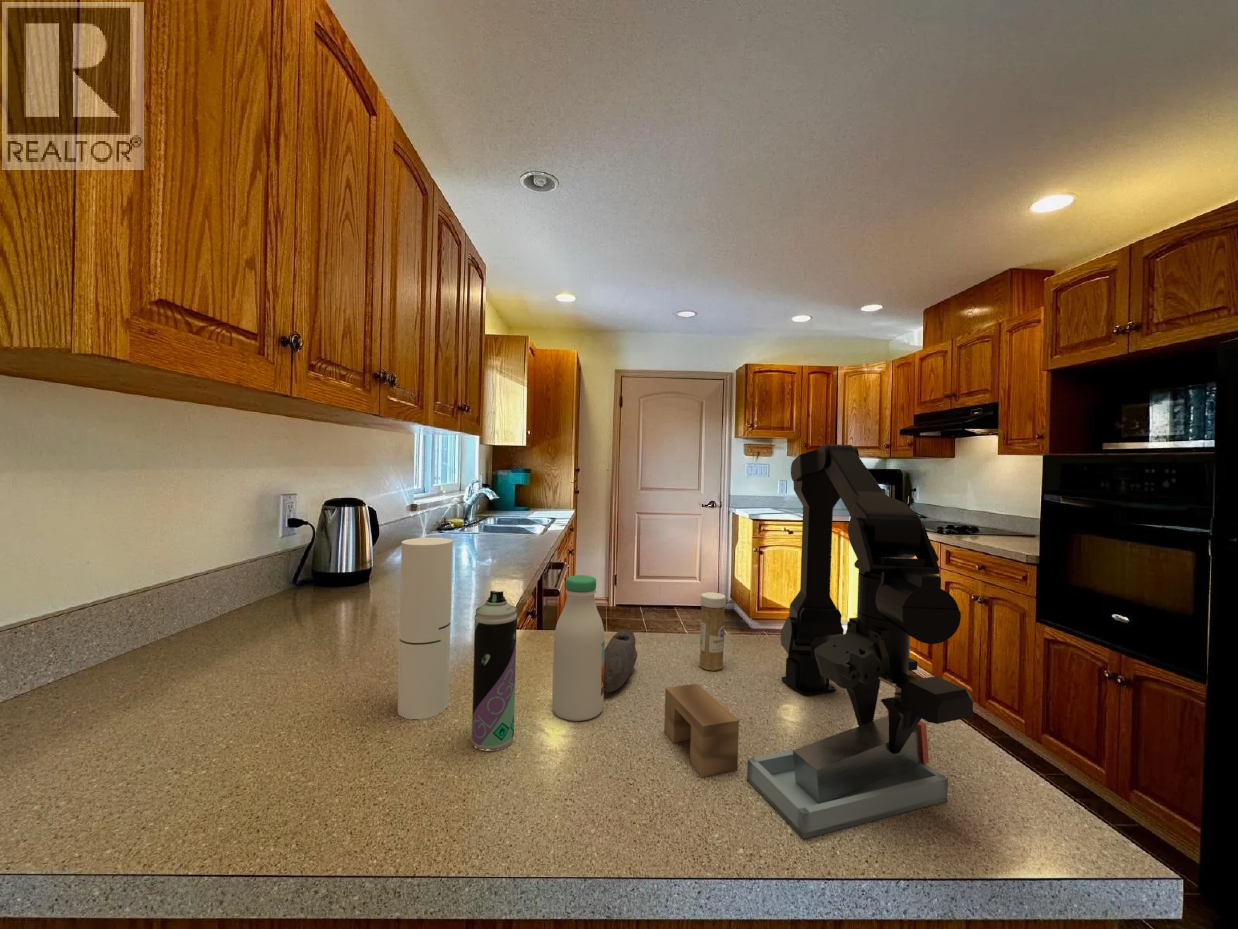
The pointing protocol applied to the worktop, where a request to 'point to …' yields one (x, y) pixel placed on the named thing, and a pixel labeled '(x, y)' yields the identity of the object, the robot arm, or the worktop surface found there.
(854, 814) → the tray
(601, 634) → the milk bottle
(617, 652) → the perforated stone tool
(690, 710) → the block
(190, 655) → the worktop surface
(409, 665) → the cylindrical container
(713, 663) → the spice jar
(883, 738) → the red capped grey bar
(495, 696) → the spray can
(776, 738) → the worktop surface
